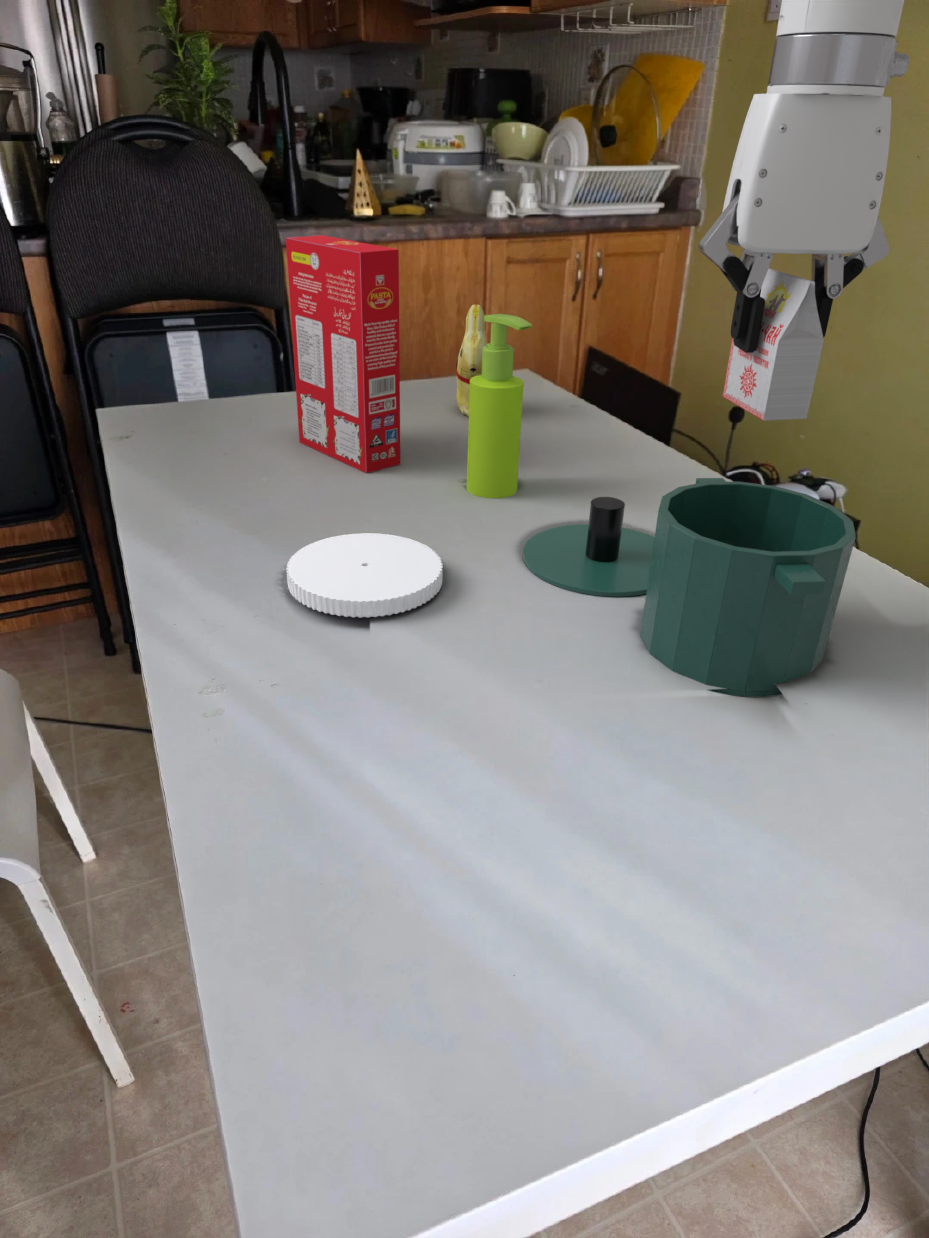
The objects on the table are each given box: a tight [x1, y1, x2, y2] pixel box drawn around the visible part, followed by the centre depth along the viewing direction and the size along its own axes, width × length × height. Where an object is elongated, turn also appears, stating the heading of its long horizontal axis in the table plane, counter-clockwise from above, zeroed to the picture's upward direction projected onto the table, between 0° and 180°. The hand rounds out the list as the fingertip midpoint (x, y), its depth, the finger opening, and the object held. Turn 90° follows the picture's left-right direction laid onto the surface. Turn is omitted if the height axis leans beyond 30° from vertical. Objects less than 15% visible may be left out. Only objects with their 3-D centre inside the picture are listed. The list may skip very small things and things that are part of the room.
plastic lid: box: [285, 532, 444, 618], centre depth 80 cm, size 14×14×2 cm
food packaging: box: [285, 234, 401, 474], centre depth 107 cm, size 15×5×25 cm, turn 42°
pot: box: [639, 477, 857, 698], centre depth 71 cm, size 14×20×12 cm
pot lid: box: [522, 496, 655, 598], centre depth 85 cm, size 15×15×7 cm
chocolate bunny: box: [455, 303, 488, 418], centre depth 128 cm, size 7×11×15 cm, turn 178°
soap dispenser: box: [466, 313, 533, 499], centre depth 97 cm, size 6×7×20 cm
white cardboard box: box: [722, 267, 825, 422], centre depth 68 cm, size 4×7×10 cm, turn 12°
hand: (774, 346), depth 68 cm, fingers closed on white cardboard box, 4 cm apart
